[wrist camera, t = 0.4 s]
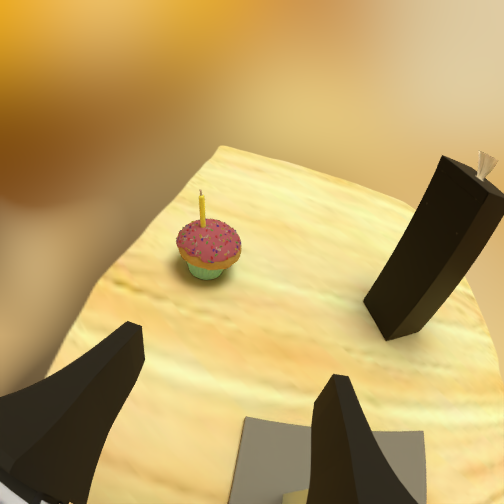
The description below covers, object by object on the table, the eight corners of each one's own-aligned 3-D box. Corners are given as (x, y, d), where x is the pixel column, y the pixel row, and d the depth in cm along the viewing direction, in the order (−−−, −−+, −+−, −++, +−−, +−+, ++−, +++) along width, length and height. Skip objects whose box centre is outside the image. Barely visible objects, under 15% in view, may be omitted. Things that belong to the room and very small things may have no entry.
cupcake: (167, 280, 38) (170, 203, 31) (186, 242, 45) (193, 171, 38) (230, 296, 39) (247, 221, 31) (240, 256, 45) (257, 186, 38)
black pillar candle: (396, 296, 45) (480, 147, 28) (419, 332, 40) (523, 179, 22) (361, 300, 43) (451, 130, 25) (385, 342, 37) (502, 165, 20)
